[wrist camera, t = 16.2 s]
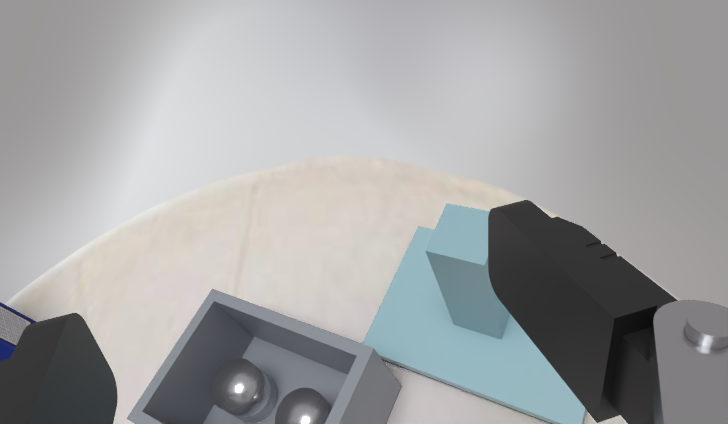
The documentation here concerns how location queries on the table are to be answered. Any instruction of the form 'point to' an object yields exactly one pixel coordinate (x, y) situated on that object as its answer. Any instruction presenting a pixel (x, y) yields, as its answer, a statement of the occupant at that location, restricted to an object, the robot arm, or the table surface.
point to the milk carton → (11, 330)
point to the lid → (465, 323)
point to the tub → (265, 367)
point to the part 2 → (303, 408)
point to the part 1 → (244, 391)
